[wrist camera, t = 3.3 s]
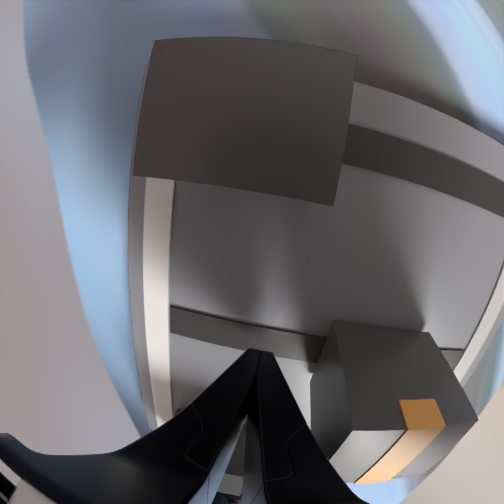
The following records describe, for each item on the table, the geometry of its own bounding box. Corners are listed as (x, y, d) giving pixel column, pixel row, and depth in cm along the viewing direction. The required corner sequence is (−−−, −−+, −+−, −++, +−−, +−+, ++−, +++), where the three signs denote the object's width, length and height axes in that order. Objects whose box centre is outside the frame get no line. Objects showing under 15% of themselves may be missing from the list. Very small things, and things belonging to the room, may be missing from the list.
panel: (396, 447, 13) (406, 497, 9) (156, 415, 14) (129, 466, 10) (528, 171, 7) (592, 187, 3) (161, 72, 8) (90, 36, 4)
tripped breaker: (396, 389, 10) (422, 475, 5) (309, 382, 10) (309, 484, 6) (429, 330, 8) (479, 419, 4) (333, 318, 9) (353, 431, 4)
